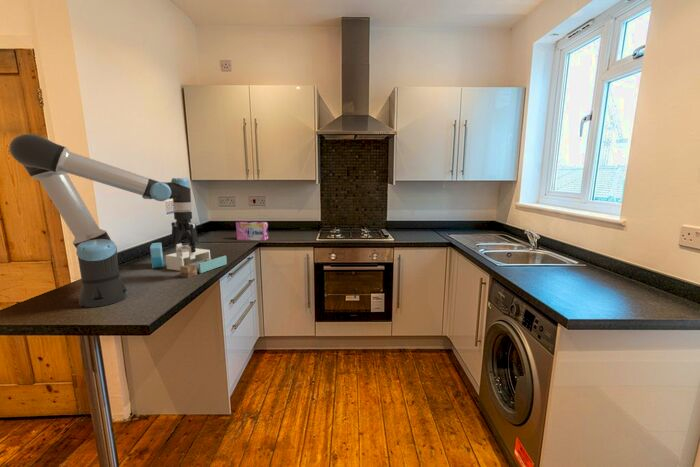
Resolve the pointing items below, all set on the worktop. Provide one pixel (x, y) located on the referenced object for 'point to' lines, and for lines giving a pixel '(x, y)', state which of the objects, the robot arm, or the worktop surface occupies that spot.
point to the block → (188, 270)
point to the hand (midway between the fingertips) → (186, 257)
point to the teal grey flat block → (210, 264)
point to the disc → (182, 248)
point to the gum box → (252, 230)
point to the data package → (156, 255)
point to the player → (185, 259)
